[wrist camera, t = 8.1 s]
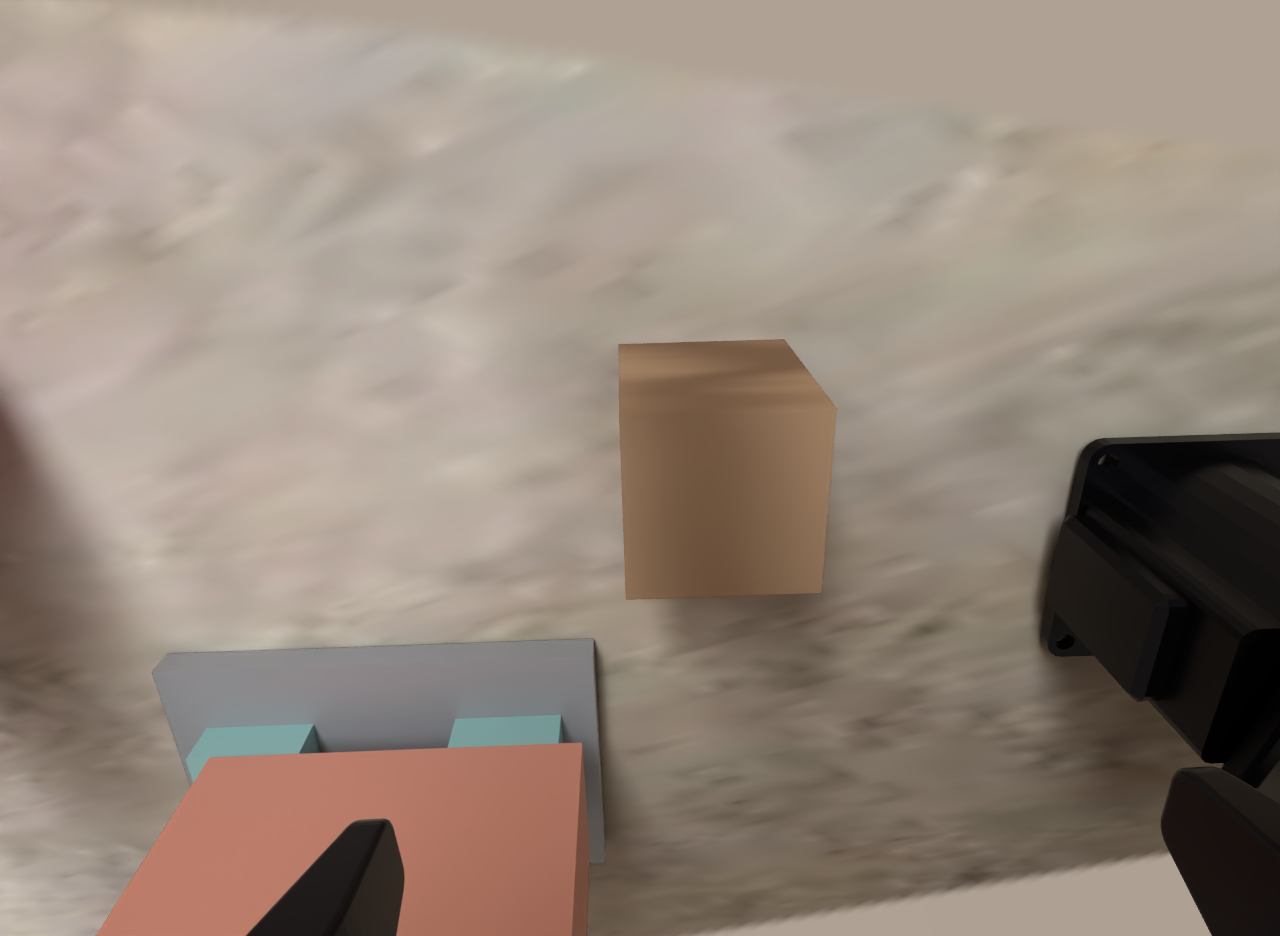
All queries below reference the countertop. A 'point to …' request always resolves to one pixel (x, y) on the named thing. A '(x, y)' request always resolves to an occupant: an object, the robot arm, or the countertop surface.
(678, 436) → the block
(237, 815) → the bar
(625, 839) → the countertop surface
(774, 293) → the countertop surface
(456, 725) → the build plate
